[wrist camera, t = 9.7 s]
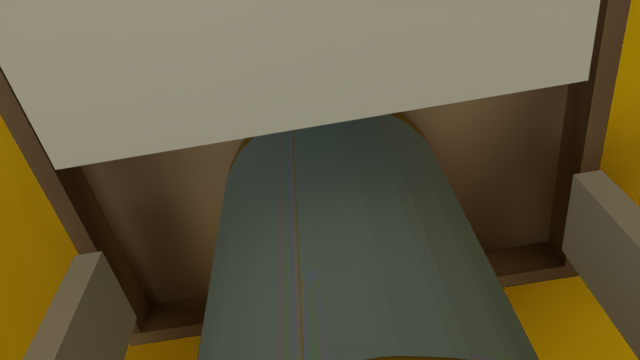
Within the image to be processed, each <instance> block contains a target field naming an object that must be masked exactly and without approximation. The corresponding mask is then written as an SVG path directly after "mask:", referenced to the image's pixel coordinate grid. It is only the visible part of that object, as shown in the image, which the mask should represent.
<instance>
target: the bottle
mask: <svg viewBox="0 0 640 360" xmlns="http://www.w3.org/2000/svg"><path fill="white" fill-rule="evenodd" d="M197 360H539V359H538V357H537V355H536V353H535V351H534V349H533V347H532V345H531V343H530V341H529V339H528V337H527V335H526V333H525V331H524V329H523V327H522V325H521V323H520V322H519V320H518V318H517V316H516V314H515V312H514V310H513V308H512V306H511V304H510V302H509V300H508V298H507V296H506V294H505V292H504V290H503V288H502V286H501V284H500V282H499V280H498V278H497V276H496V274H495V272H494V270H493V268H492V266H491V264H490V262H489V260H488V258H487V257H486V255H485V253H484V251H483V249H482V247H481V245H480V243H479V241H478V239H477V237H476V235H475V233H474V231H473V229H472V227H471V225H470V223H469V221H468V219H467V217H466V215H465V213H464V211H463V209H462V207H461V205H460V203H459V201H458V199H457V197H456V195H455V193H454V192H453V190H452V188H451V186H450V184H449V182H448V180H447V178H446V176H445V174H444V172H443V170H442V168H441V166H440V164H439V162H438V160H437V158H436V156H435V154H434V152H433V150H432V148H431V147H430V145H429V144H428V142H427V141H426V139H425V137H424V136H423V134H422V133H421V132H420V131H419V130H418V129H417V128H416V127H415V126H414V125H413V124H412V123H411V122H410V121H409V120H408V119H407V118H406V117H405V116H403V115H402V114H400V113H399V112H397V113H391V114H386V115H380V116H374V117H368V118H362V119H356V120H350V121H344V122H338V123H332V124H326V125H320V126H314V127H308V128H302V129H296V130H290V131H284V132H278V133H272V134H266V135H260V136H255V137H249V138H245V139H244V140H243V142H242V143H241V145H240V146H239V148H238V150H237V153H236V155H235V157H234V159H233V161H232V163H231V166H230V169H229V173H228V177H227V181H226V185H225V191H224V197H223V204H222V210H221V216H220V222H219V228H218V235H217V241H216V247H215V253H214V259H213V266H212V272H211V278H210V284H209V290H208V297H207V303H206V309H205V315H204V321H203V328H202V334H201V340H200V346H199V352H198V359H197Z"/></svg>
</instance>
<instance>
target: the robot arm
mask: <svg viewBox="0 0 640 360" xmlns="http://www.w3.org/2000/svg"><path fill="white" fill-rule="evenodd" d="M562 251H563V252H564V254H565V255H566V257H567V258H568V260H569V261H570V262H571V264H572V265H573V267H574V268H575V269H576V271H577V272H578V274H579V275H580V277H581V278H582V279H583V281H584V282H585V284H586V285H587V287H588V288H589V289H590V291H591V292H592V294H593V295H594V296H595V298H596V299H597V301H598V302H599V304H600V305H601V306H602V308H603V309H604V311H605V312H606V314H607V315H608V316H609V318H610V319H611V321H612V322H613V323H614V325H615V326H616V328H617V329H618V331H619V332H620V333H621V335H622V336H623V338H624V339H625V341H626V342H627V343H628V345H629V346H630V348H631V349H632V351H633V352H634V353H635V355H636V356H637V358H638V359H639V360H640V207H639V206H638V205H637V204H636V203H635V202H634V201H633V200H632V199H631V198H630V197H629V196H628V195H627V194H626V193H625V192H624V191H623V190H622V189H621V188H620V187H619V186H618V185H617V184H616V183H615V182H613V181H612V180H611V179H610V178H609V177H608V176H607V175H606V174H605V173H604V172H603V171H602V170H598V171H591V172H585V173H579V174H573V181H572V187H571V194H570V200H569V206H568V213H567V219H566V226H565V232H564V239H563V245H562ZM136 319H137V317H136V315H135V313H134V311H133V309H132V307H131V305H130V303H129V302H128V300H127V298H126V296H125V294H124V292H123V290H122V288H121V286H120V284H119V283H118V281H117V279H116V277H115V275H114V273H113V271H112V269H111V267H110V265H109V264H108V262H107V260H106V258H105V256H104V254H103V252H102V251H100V252H94V253H88V254H82V255H75V257H74V259H73V261H72V263H71V265H70V267H69V269H68V271H67V273H66V275H65V277H64V279H63V281H62V283H61V285H60V287H59V289H58V291H57V293H56V295H55V297H54V299H53V301H52V303H51V305H50V307H49V309H48V311H47V313H46V315H45V317H44V319H43V321H42V323H41V325H40V327H39V329H38V330H37V332H36V334H35V336H34V338H33V340H32V342H31V344H30V346H29V348H28V350H27V352H26V354H25V356H24V358H23V360H124V358H125V355H126V351H127V348H128V345H129V341H130V338H131V335H132V332H133V328H134V325H135V322H136Z"/></svg>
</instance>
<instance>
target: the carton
mask: <svg viewBox="0 0 640 360" xmlns="http://www.w3.org/2000/svg"><path fill="white" fill-rule="evenodd" d="M599 6H600V0H0V66H1V68H2V70H3V72H4V74H5V76H6V78H7V80H8V81H9V83H10V85H11V87H12V89H13V91H14V93H15V95H16V96H17V98H18V100H19V102H20V104H21V106H22V108H23V110H24V112H25V113H26V115H27V117H28V119H29V121H30V123H31V125H32V127H33V128H34V130H35V132H36V134H37V136H38V138H39V140H40V142H41V144H42V145H43V147H44V149H45V151H46V153H47V155H48V157H49V159H50V160H51V162H52V164H53V166H54V168H55V170H58V169H64V168H70V167H76V166H82V165H88V164H94V163H100V162H106V161H112V160H118V159H124V158H129V157H135V156H141V155H147V154H153V153H159V152H165V151H171V150H177V149H183V148H189V147H195V146H201V145H207V144H213V143H219V142H225V141H231V140H237V139H243V138H249V137H255V136H260V135H266V134H272V133H278V132H284V131H290V130H296V129H302V128H308V127H314V126H320V125H326V124H332V123H338V122H344V121H350V120H356V119H362V118H368V117H374V116H380V115H386V114H391V113H397V112H403V111H409V110H415V109H421V108H427V107H433V106H439V105H445V104H451V103H457V102H463V101H469V100H475V99H481V98H487V97H493V96H499V95H505V94H511V93H517V92H522V91H528V90H534V89H540V88H546V87H552V86H558V85H564V84H570V83H576V82H582V81H588V77H589V71H590V64H591V58H592V52H593V45H594V39H595V32H596V26H597V19H598V13H599Z"/></svg>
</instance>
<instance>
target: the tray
mask: <svg viewBox="0 0 640 360" xmlns="http://www.w3.org/2000/svg"><path fill="white" fill-rule="evenodd" d="M630 2H631V0H600V6H599V13H598V19H597V26H596V32H595V39H594V45H593V52H592V58H591V64H590V71H589V77H588V81H582V82H576V83H570V84H564V85H558V86H552V87H546V88H540V89H534V90H528V91H522V92H517V93H511V94H505V95H499V96H493V97H487V98H481V99H475V100H469V101H463V102H457V103H451V104H445V105H439V106H433V107H427V108H421V109H415V110H409V111H403V112H399V113H400V114H402V115H403V116H405V117H406V118H407V119H408V120H409V121H410V122H411V123H412V124H413V125H414V126H415V127H416V128H417V129H418V130H419V131H420V132H421V133H422V134H423V136H424V137H425V139H426V141H427V142H428V144H429V145H430V147H431V148H432V150H433V152H434V154H435V156H436V158H437V160H438V162H439V164H440V166H441V168H442V170H443V172H444V174H445V176H446V178H447V180H448V182H449V184H450V186H451V188H452V190H453V192H454V193H455V195H456V197H457V199H458V201H459V203H460V205H461V207H462V209H463V211H464V213H465V215H466V217H467V219H468V221H469V223H470V225H471V227H472V229H473V231H474V233H475V235H476V237H477V239H478V241H479V243H480V245H481V247H482V249H483V251H484V253H485V255H486V257H487V258H488V260H489V262H490V264H491V266H492V268H493V270H494V272H495V274H496V276H497V278H498V280H499V282H500V284H501V286H502V288H503V287H510V286H516V285H522V284H529V283H535V282H541V281H548V280H554V279H560V278H567V277H573V276H579V274H578V272H577V271H576V269H575V268H574V267H573V265H572V264H571V262H570V261H569V260H568V258H567V257H566V255H565V254H564V252H563V251H562V245H563V239H564V232H565V226H566V219H567V213H568V206H569V200H570V194H571V187H572V181H573V174H579V173H585V172H591V171H598V170H599V167H600V162H601V156H602V151H603V146H604V140H605V135H606V130H607V124H608V119H609V114H610V108H611V103H612V98H613V92H614V87H615V82H616V76H617V71H618V66H619V60H620V55H621V50H622V44H623V39H624V34H625V28H626V23H627V18H628V12H629V7H630ZM0 114H1V116H2V118H3V120H4V121H5V123H6V125H7V127H8V129H9V130H10V132H11V134H12V136H13V137H14V139H15V141H16V143H17V145H18V146H19V148H20V150H21V152H22V153H23V155H24V157H25V159H26V161H27V162H28V164H29V166H30V168H31V169H32V171H33V173H34V175H35V177H36V178H37V180H38V182H39V184H40V185H41V187H42V189H43V191H44V193H45V194H46V196H47V198H48V200H49V201H50V203H51V205H52V207H53V208H54V210H55V212H56V214H57V216H58V217H59V219H60V221H61V223H62V224H63V226H64V228H65V230H66V232H67V233H68V235H69V237H70V239H71V240H72V242H73V244H74V246H75V248H76V249H77V251H78V253H79V255H82V254H88V253H94V252H100V251H102V252H103V254H104V256H105V258H106V260H107V262H108V264H109V265H110V267H111V269H112V271H113V273H114V275H115V277H116V279H117V281H118V283H119V284H120V286H121V288H122V290H123V292H124V294H125V296H126V298H127V300H128V302H129V303H130V305H131V307H132V309H133V311H134V313H135V315H136V317H137V319H136V322H135V325H134V328H133V332H132V335H131V338H130V341H129V344H130V345H131V346H134V345H140V344H147V343H153V342H159V341H166V340H172V339H179V338H185V337H191V336H198V335H201V334H202V328H203V321H204V315H205V309H206V303H207V297H208V290H209V284H210V278H211V272H212V266H213V259H214V253H215V247H216V241H217V235H218V228H219V222H220V216H221V210H222V204H223V197H224V191H225V185H226V181H227V177H228V173H229V169H230V166H231V163H232V161H233V159H234V157H235V155H236V153H237V150H238V148H239V146H240V145H241V143H242V142H243V140H244V139H245V138H243V139H237V140H231V141H225V142H219V143H213V144H207V145H201V146H195V147H189V148H183V149H177V150H171V151H165V152H159V153H153V154H147V155H141V156H135V157H129V158H124V159H118V160H112V161H106V162H100V163H94V164H88V165H82V166H76V167H70V168H64V169H58V170H55V168H54V166H53V164H52V162H51V160H50V159H49V157H48V155H47V153H46V151H45V149H44V147H43V145H42V144H41V142H40V140H39V138H38V136H37V134H36V132H35V130H34V128H33V127H32V125H31V123H30V121H29V119H28V117H27V115H26V113H25V112H24V110H23V108H22V106H21V104H20V102H19V100H18V98H17V96H16V95H15V93H14V91H13V89H12V87H11V85H10V83H9V81H8V80H7V78H6V76H5V74H4V72H3V70H2V68H1V66H0Z"/></svg>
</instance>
